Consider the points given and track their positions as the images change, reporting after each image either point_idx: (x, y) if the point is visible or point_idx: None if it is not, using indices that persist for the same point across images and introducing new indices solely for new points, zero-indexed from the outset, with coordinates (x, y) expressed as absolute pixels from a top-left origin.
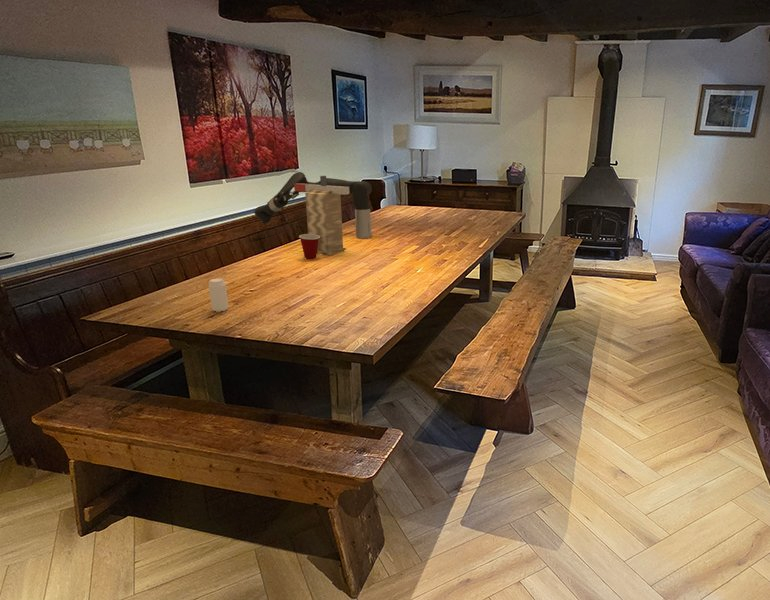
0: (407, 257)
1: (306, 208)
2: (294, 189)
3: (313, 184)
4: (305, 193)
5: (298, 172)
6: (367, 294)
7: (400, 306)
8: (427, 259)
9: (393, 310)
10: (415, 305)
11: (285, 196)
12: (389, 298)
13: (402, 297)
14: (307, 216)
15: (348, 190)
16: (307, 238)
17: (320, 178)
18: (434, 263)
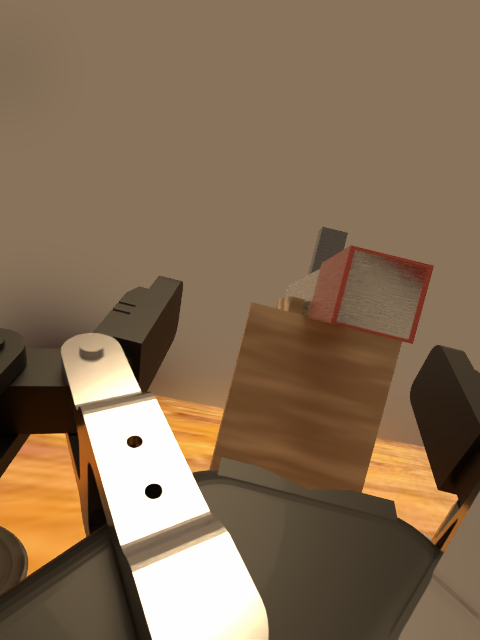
0: (186, 444)
1: (374, 440)
2: (416, 327)
3: (318, 270)
4: (400, 343)
5: None
6: (422, 474)
7: (410, 451)
8: (186, 426)
9: (426, 455)
10: (393, 443)
11: (447, 515)
12: (404, 458)
13: (387, 450)
14: (360, 489)
15: None
16: (431, 538)
17: (344, 245)
18: (209, 423)
